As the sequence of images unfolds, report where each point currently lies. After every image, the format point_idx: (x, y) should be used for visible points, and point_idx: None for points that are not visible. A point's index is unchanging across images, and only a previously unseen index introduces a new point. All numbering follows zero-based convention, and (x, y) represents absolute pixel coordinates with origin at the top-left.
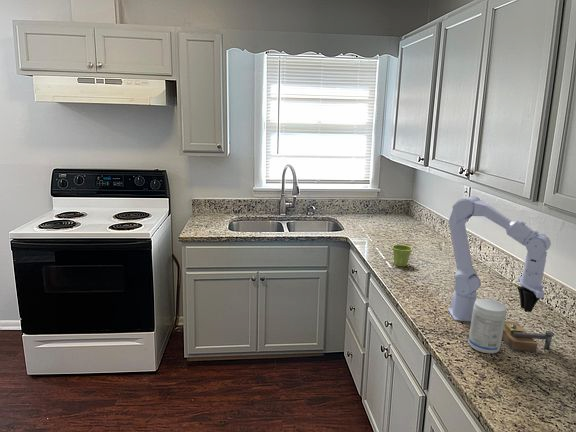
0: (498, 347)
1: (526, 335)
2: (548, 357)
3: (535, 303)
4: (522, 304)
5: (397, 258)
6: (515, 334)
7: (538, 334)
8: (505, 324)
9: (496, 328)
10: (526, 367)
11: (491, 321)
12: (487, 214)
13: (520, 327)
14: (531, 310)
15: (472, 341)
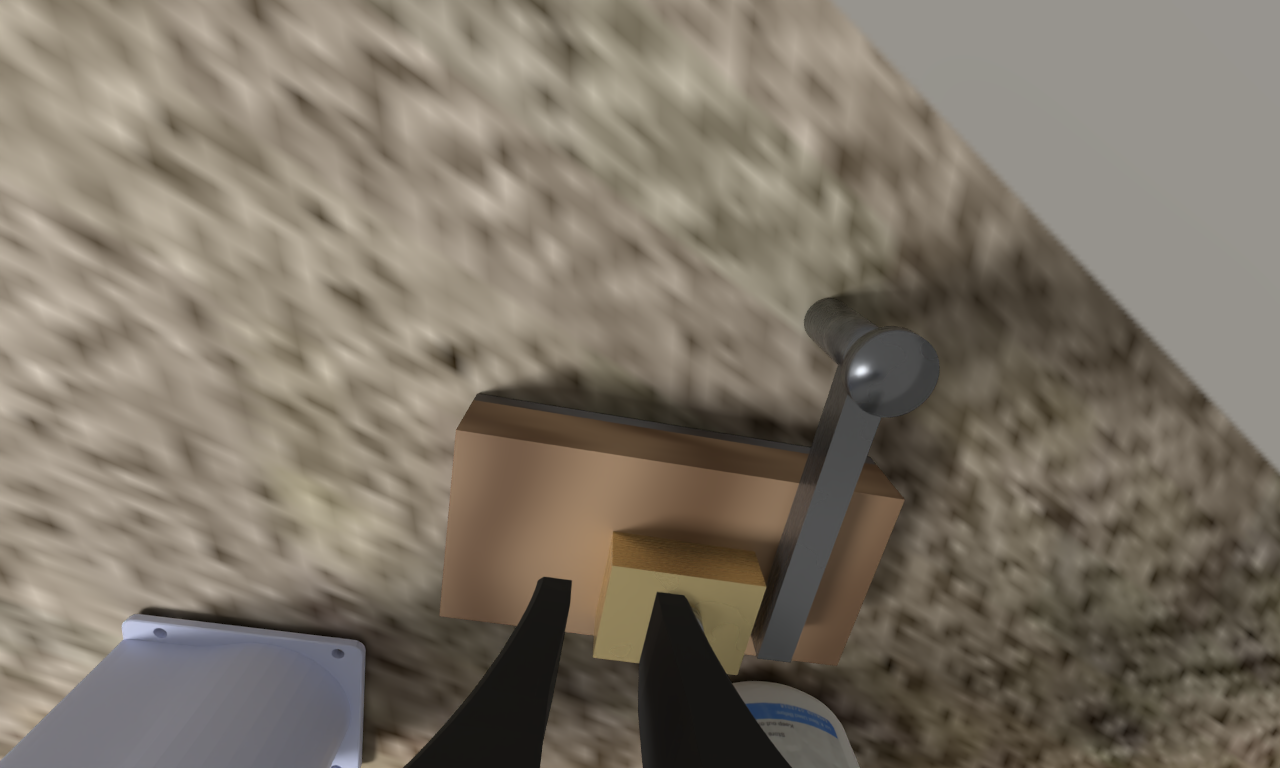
0: (851, 749)
1: (817, 569)
2: (956, 404)
3: (758, 728)
4: (549, 707)
5: None
6: (790, 651)
7: (838, 466)
8: (614, 656)
9: None
10: (1024, 630)
11: None
12: None
13: (583, 468)
14: (692, 617)
15: None
